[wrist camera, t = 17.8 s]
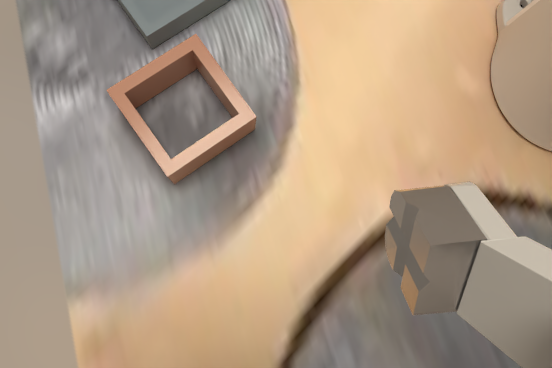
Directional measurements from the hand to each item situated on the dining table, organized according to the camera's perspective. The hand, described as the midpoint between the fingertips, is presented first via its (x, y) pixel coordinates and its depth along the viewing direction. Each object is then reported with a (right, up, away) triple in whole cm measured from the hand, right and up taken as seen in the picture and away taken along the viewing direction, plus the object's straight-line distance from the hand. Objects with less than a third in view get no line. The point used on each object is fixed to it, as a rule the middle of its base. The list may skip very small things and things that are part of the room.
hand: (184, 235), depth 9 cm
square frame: (-6, +7, +32) cm, 34 cm away
